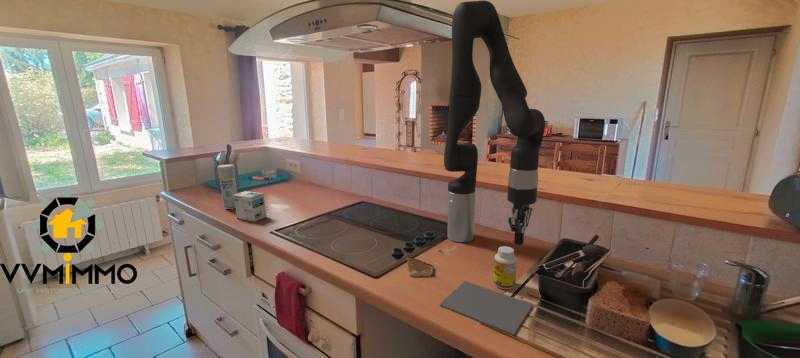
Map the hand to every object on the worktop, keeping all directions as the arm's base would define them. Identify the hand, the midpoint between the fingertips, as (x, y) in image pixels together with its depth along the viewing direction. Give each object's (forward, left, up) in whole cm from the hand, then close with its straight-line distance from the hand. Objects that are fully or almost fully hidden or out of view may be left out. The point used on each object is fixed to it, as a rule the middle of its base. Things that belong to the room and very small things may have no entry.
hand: (518, 243), depth 97 cm
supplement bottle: (+10, 0, -8) cm, 13 cm away
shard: (+17, -24, -9) cm, 31 cm away
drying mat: (+21, 0, -8) cm, 23 cm away
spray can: (+19, -127, -8) cm, 129 cm away
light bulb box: (+21, -106, -8) cm, 108 cm away
